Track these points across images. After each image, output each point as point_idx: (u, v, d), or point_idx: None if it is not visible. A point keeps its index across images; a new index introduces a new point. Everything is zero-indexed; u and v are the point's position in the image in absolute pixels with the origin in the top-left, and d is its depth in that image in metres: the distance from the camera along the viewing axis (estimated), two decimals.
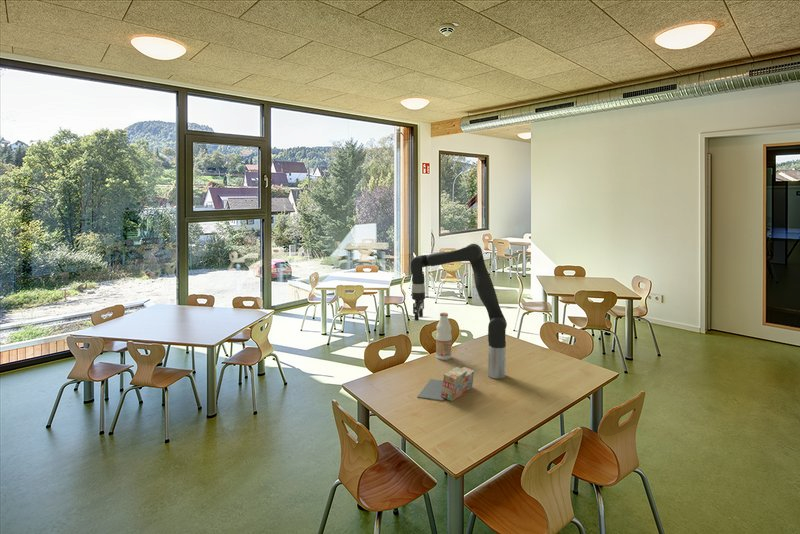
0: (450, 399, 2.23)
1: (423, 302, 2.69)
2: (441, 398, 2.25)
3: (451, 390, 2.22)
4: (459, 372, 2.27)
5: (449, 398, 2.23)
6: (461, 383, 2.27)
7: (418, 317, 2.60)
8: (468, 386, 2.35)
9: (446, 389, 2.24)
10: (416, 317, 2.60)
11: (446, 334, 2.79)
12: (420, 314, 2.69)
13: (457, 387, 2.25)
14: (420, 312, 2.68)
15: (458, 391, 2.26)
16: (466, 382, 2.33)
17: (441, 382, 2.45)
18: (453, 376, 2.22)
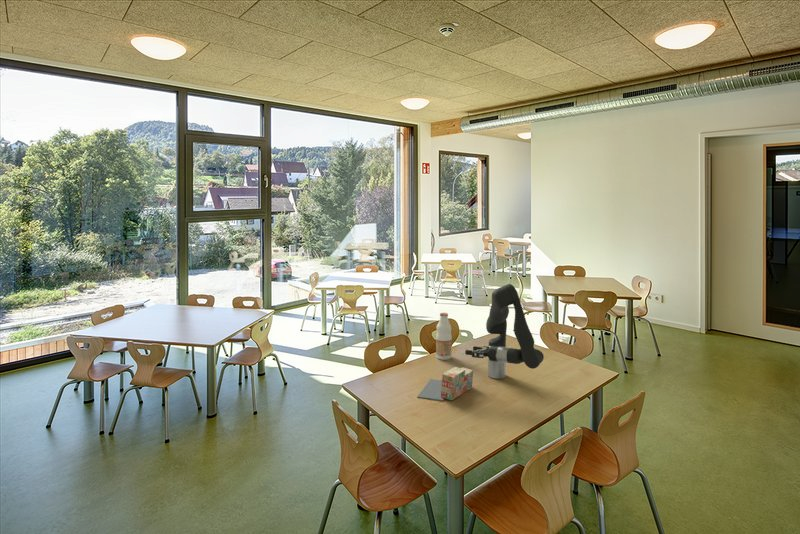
0: (450, 398, 2.23)
1: (479, 352, 2.21)
2: (441, 398, 2.25)
3: (450, 389, 2.22)
4: (457, 371, 2.28)
5: (449, 397, 2.23)
6: (460, 382, 2.27)
7: None
8: (468, 386, 2.36)
9: (445, 389, 2.24)
10: None
11: (446, 334, 2.79)
12: None
13: (456, 386, 2.25)
14: None
15: (457, 390, 2.26)
16: (465, 381, 2.33)
17: (441, 382, 2.45)
18: (451, 375, 2.23)
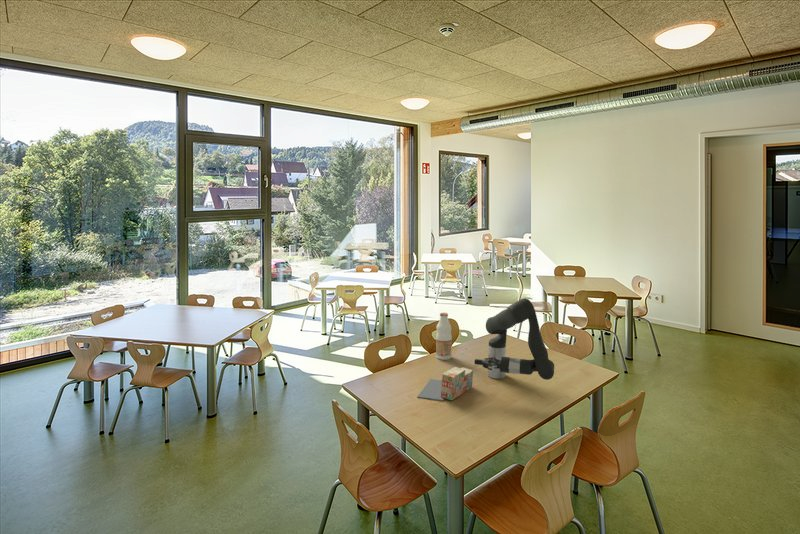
0: (450, 398, 2.23)
1: (489, 363, 2.21)
2: (441, 398, 2.25)
3: (450, 389, 2.22)
4: (457, 371, 2.28)
5: (449, 397, 2.23)
6: (460, 382, 2.27)
7: (478, 359, 2.27)
8: (468, 386, 2.36)
9: (445, 389, 2.24)
10: None
11: (446, 334, 2.79)
12: None
13: (456, 386, 2.25)
14: None
15: (457, 390, 2.26)
16: (465, 381, 2.33)
17: (441, 382, 2.45)
18: (451, 375, 2.23)
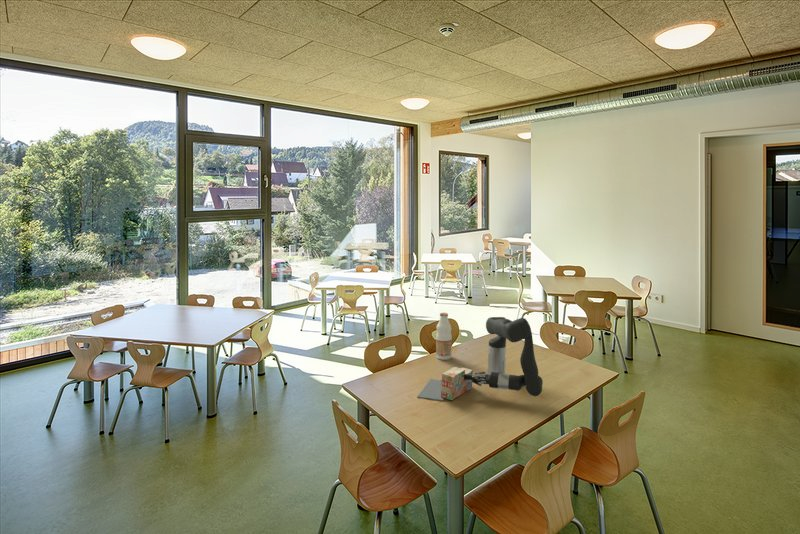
0: (450, 398, 2.23)
1: (478, 379, 2.24)
2: (441, 398, 2.25)
3: (450, 389, 2.22)
4: (457, 371, 2.28)
5: (449, 397, 2.23)
6: (460, 382, 2.27)
7: (468, 374, 2.30)
8: (468, 386, 2.36)
9: (445, 389, 2.24)
10: None
11: (446, 334, 2.79)
12: None
13: (456, 386, 2.25)
14: None
15: (457, 390, 2.26)
16: (465, 381, 2.33)
17: (441, 382, 2.45)
18: (451, 375, 2.23)
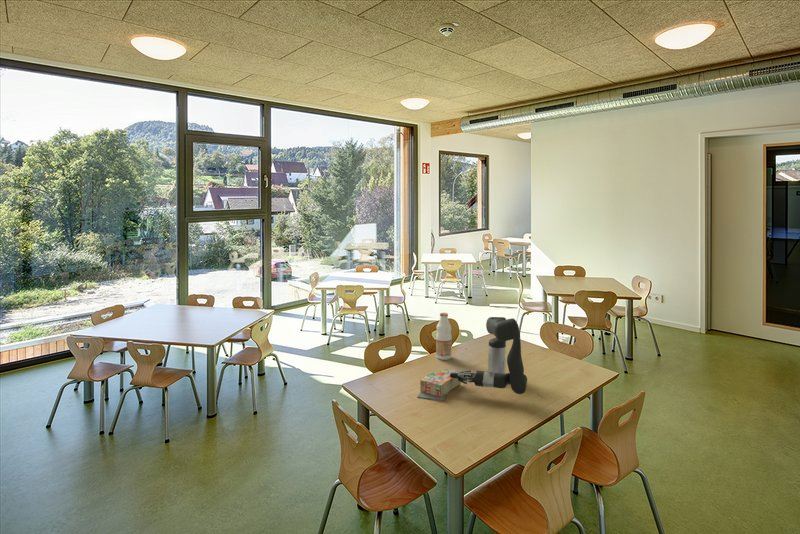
0: (439, 386, 2.26)
1: (464, 377, 2.26)
2: (441, 398, 2.25)
3: (431, 384, 2.29)
4: None
5: (439, 387, 2.26)
6: (436, 377, 2.35)
7: None
8: None
9: (432, 390, 2.29)
10: None
11: (446, 334, 2.79)
12: None
13: (434, 379, 2.32)
14: None
15: (439, 380, 2.32)
16: (445, 374, 2.40)
17: None
18: None
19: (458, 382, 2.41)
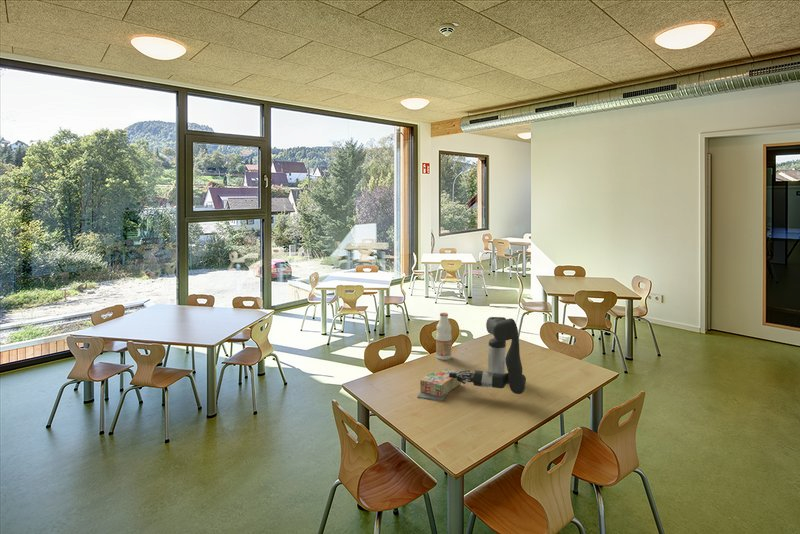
0: (439, 386, 2.26)
1: (463, 377, 2.26)
2: (441, 398, 2.25)
3: (431, 384, 2.29)
4: None
5: (439, 387, 2.26)
6: (436, 377, 2.35)
7: None
8: None
9: (432, 390, 2.29)
10: None
11: (446, 334, 2.79)
12: None
13: (434, 379, 2.32)
14: None
15: (440, 380, 2.32)
16: (445, 374, 2.40)
17: None
18: None
19: (458, 382, 2.41)
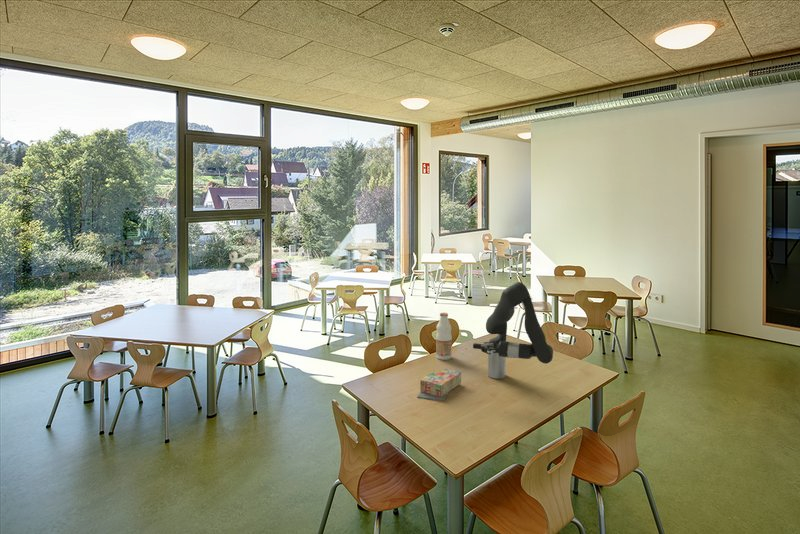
0: (439, 386, 2.26)
1: (488, 348, 2.20)
2: (441, 398, 2.25)
3: (431, 384, 2.29)
4: None
5: (439, 387, 2.26)
6: (436, 377, 2.35)
7: None
8: (453, 374, 2.40)
9: (432, 390, 2.29)
10: None
11: (446, 334, 2.79)
12: None
13: (434, 379, 2.32)
14: None
15: (440, 380, 2.32)
16: (445, 374, 2.40)
17: None
18: None
19: (458, 382, 2.41)
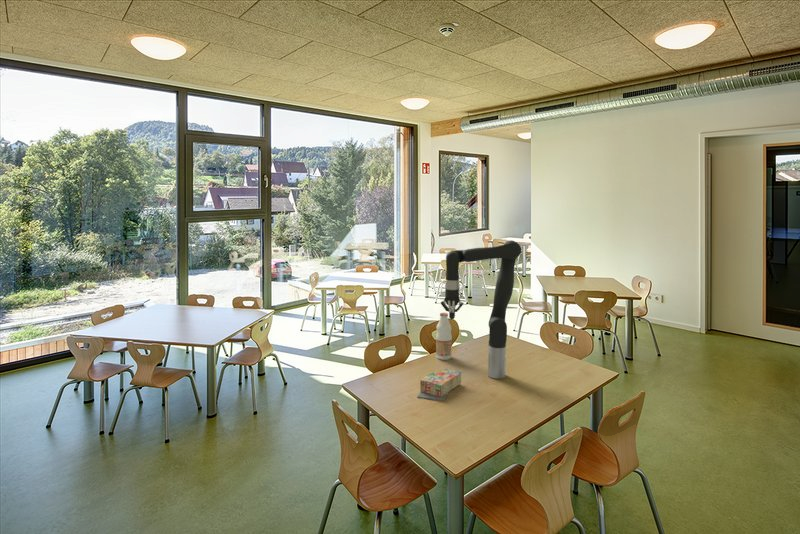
0: (439, 386, 2.26)
1: None
2: (441, 398, 2.25)
3: (431, 384, 2.29)
4: None
5: (439, 387, 2.26)
6: (436, 377, 2.35)
7: None
8: (453, 374, 2.40)
9: (432, 390, 2.29)
10: (454, 315, 2.52)
11: (446, 334, 2.79)
12: None
13: (434, 379, 2.32)
14: None
15: (440, 380, 2.32)
16: (445, 374, 2.40)
17: None
18: None
19: (458, 382, 2.41)
